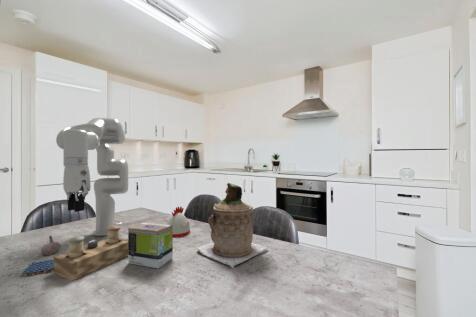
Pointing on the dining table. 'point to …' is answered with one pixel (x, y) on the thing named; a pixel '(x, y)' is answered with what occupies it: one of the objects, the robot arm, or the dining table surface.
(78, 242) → the knob sage
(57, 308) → the dining table surface
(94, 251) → the panel
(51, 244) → the garlic bulb
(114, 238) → the knob terracotta
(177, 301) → the dining table surface
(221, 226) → the cookie jar
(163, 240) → the tea box
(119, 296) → the dining table surface
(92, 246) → the dial
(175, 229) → the kitchen timer
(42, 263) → the woven mat
